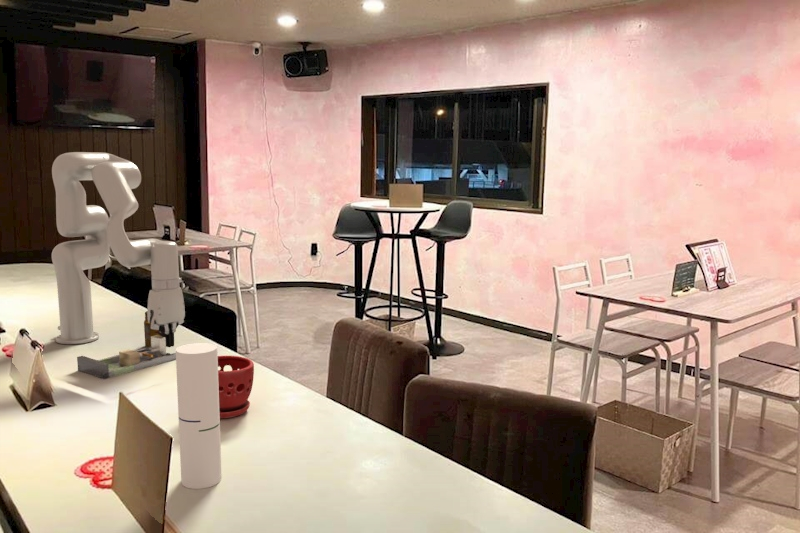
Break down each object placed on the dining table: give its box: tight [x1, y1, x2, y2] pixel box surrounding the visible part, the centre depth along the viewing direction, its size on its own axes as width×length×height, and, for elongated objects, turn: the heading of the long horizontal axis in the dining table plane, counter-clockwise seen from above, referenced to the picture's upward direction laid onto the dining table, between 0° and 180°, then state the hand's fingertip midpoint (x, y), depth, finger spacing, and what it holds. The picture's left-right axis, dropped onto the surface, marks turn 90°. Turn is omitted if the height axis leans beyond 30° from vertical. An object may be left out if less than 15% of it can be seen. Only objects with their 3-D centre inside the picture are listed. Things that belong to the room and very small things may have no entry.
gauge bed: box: [76, 347, 176, 380], centre depth 196 cm, size 12×24×5 cm, turn 145°
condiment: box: [143, 310, 162, 348], centre depth 214 cm, size 7×8×12 cm
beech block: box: [118, 348, 140, 366], centre depth 195 cm, size 5×3×4 cm, turn 55°
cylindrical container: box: [175, 342, 223, 490], centre depth 128 cm, size 7×7×25 cm
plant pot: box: [218, 355, 255, 419], centre depth 163 cm, size 13×13×12 cm
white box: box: [140, 335, 167, 362], centre depth 199 cm, size 8×9×6 cm
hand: (168, 345), depth 206 cm, fingers closed
